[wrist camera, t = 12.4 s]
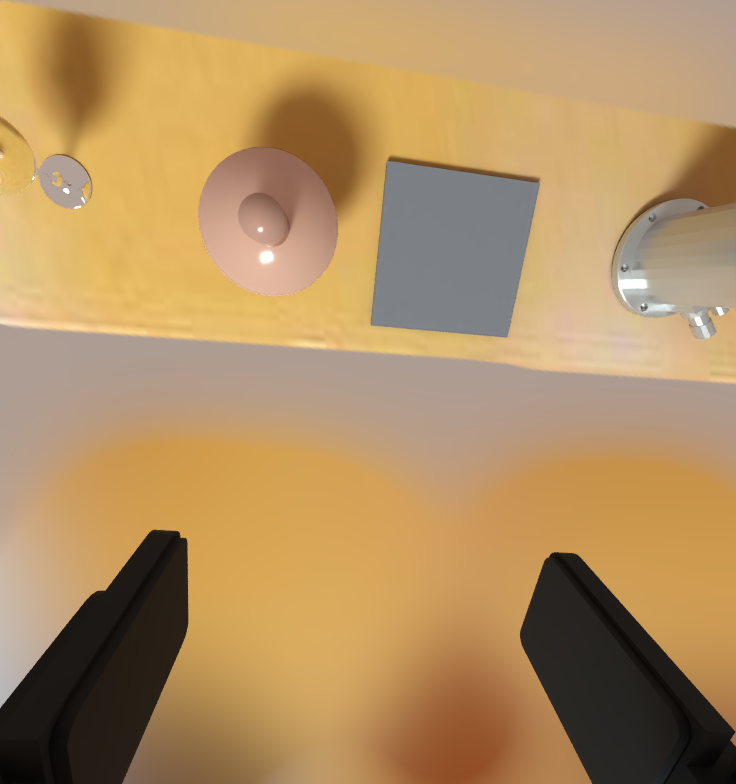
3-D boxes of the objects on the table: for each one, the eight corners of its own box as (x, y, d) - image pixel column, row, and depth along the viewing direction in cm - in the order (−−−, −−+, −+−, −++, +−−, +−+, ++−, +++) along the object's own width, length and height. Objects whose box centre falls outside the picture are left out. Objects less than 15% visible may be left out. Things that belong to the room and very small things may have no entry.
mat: (536, 184, 37) (539, 183, 36) (504, 336, 41) (507, 337, 41) (386, 162, 35) (387, 160, 34) (370, 324, 39) (371, 325, 39)
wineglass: (33, 136, 31) (-137, 51, 20) (102, 161, 32) (-22, 94, 21) (29, 203, 33) (-132, 160, 21) (95, 225, 34) (-25, 195, 22)
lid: (363, 239, 30) (368, 231, 26) (269, 321, 31) (259, 327, 27) (274, 118, 27) (263, 87, 23) (173, 215, 28) (145, 203, 24)
